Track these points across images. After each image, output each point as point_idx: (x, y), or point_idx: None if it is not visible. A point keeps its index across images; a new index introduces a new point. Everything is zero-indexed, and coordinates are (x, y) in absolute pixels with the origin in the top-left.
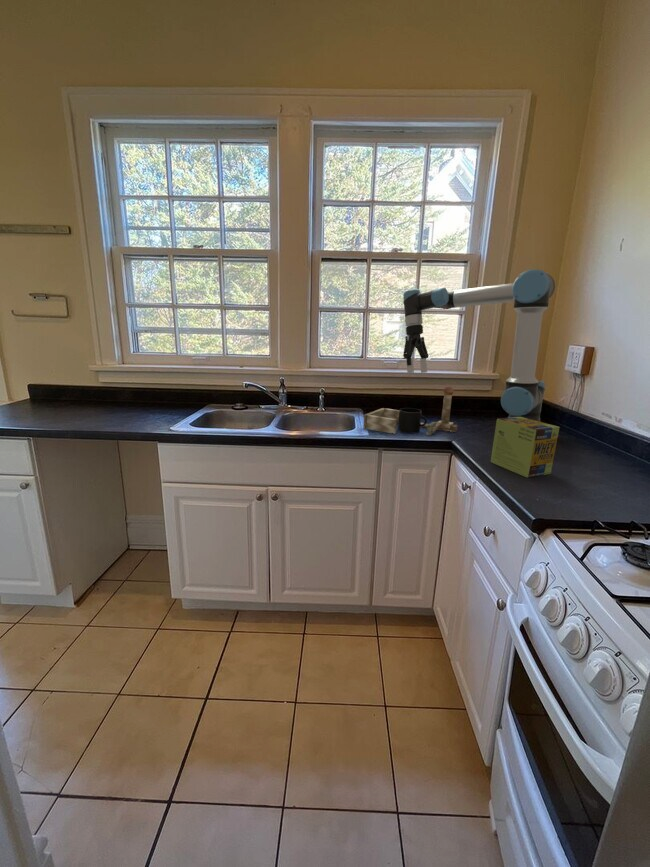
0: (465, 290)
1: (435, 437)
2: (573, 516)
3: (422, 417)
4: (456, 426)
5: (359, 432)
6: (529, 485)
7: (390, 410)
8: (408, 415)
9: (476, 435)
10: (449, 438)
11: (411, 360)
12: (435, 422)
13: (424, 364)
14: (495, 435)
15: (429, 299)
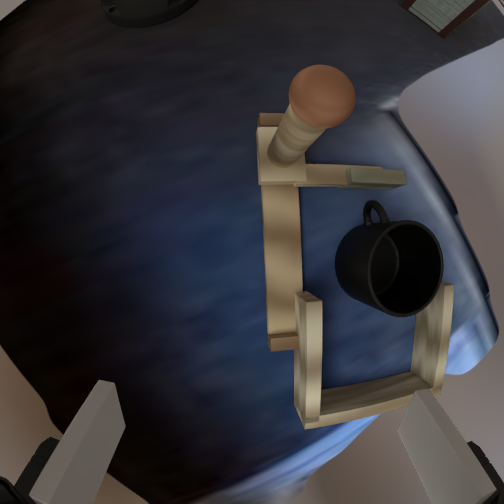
0: None
1: (386, 158)
2: (491, 3)
3: (385, 216)
4: (274, 114)
5: (453, 356)
6: None
7: (320, 390)
8: (435, 255)
9: (273, 61)
10: (366, 120)
11: (479, 473)
12: (355, 169)
13: (85, 456)
14: (474, 13)
15: None
